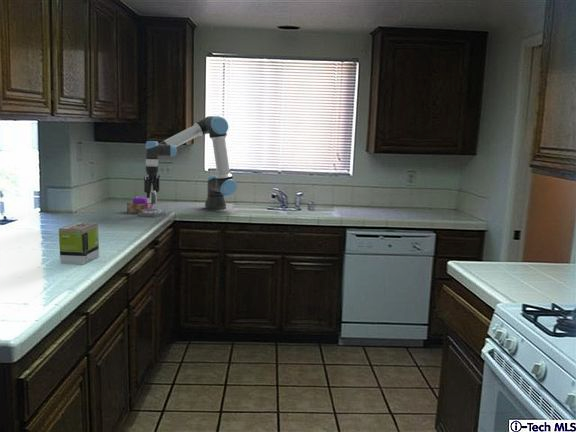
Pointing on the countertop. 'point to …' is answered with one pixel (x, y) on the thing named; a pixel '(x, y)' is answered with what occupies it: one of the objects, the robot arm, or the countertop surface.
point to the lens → (153, 197)
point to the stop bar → (135, 207)
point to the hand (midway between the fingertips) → (151, 202)
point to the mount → (151, 212)
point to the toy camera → (142, 202)
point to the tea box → (78, 243)
